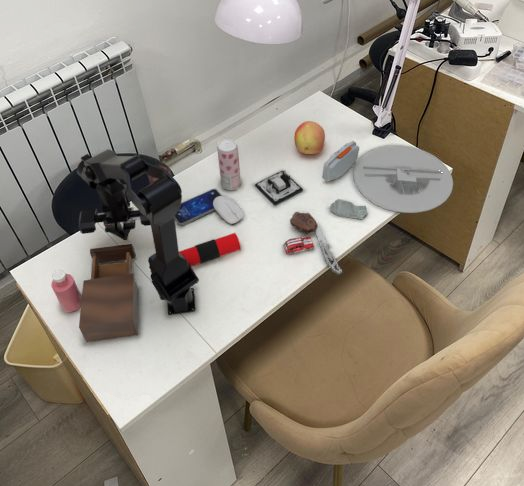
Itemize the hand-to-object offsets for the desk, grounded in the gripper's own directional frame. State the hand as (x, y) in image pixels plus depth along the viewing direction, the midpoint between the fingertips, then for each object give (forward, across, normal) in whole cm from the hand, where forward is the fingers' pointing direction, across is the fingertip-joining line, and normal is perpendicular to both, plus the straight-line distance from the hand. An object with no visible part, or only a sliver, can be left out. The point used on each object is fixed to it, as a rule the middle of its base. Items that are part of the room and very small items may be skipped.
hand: (125, 239), depth 142 cm
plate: (+4, -78, -13) cm, 79 cm away
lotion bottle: (+4, +13, +15) cm, 20 cm away
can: (+4, -11, -12) cm, 17 cm away
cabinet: (+4, +3, +20) cm, 21 cm away
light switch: (+2, -40, -20) cm, 45 cm away
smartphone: (+4, -19, -11) cm, 22 cm away
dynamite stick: (+1, -28, +4) cm, 29 cm away
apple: (-1, -52, -25) cm, 58 cm away
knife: (+3, -52, +9) cm, 53 cm away
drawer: (+3, +3, +9) cm, 10 cm away
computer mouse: (+4, -27, -8) cm, 28 cm away
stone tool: (+2, -61, -5) cm, 61 cm away
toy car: (+4, -44, +7) cm, 44 cm away
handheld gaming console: (+4, -61, -18) cm, 64 cm away
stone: (+4, -45, 0) cm, 45 cm away
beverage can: (+4, -29, -19) cm, 35 cm away
